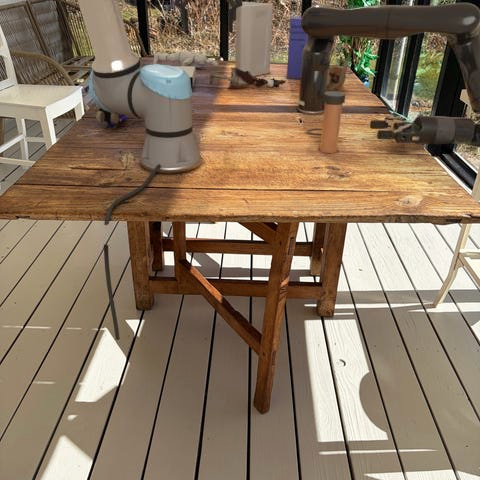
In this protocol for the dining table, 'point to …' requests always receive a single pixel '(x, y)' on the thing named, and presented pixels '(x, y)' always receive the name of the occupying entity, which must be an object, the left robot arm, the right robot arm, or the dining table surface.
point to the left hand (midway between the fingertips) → (208, 32)
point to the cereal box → (295, 48)
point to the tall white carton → (253, 37)
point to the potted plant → (337, 76)
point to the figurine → (246, 79)
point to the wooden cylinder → (330, 127)
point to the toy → (184, 58)
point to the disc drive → (189, 73)
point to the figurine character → (109, 118)
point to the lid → (334, 97)
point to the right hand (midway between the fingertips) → (373, 129)
